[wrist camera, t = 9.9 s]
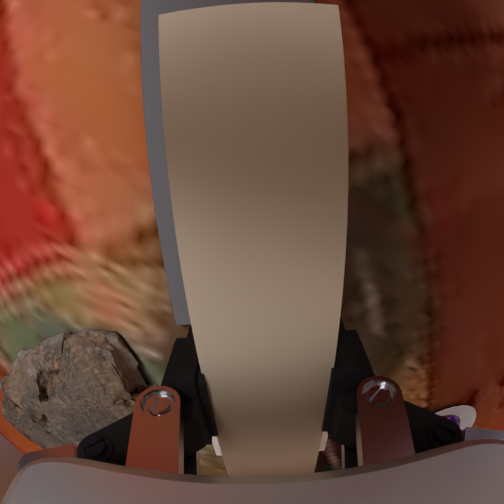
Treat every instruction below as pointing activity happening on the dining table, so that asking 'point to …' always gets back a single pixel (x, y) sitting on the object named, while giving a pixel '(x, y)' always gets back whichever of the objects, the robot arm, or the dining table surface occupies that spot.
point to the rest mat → (152, 5)
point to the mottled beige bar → (260, 216)
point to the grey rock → (71, 387)
